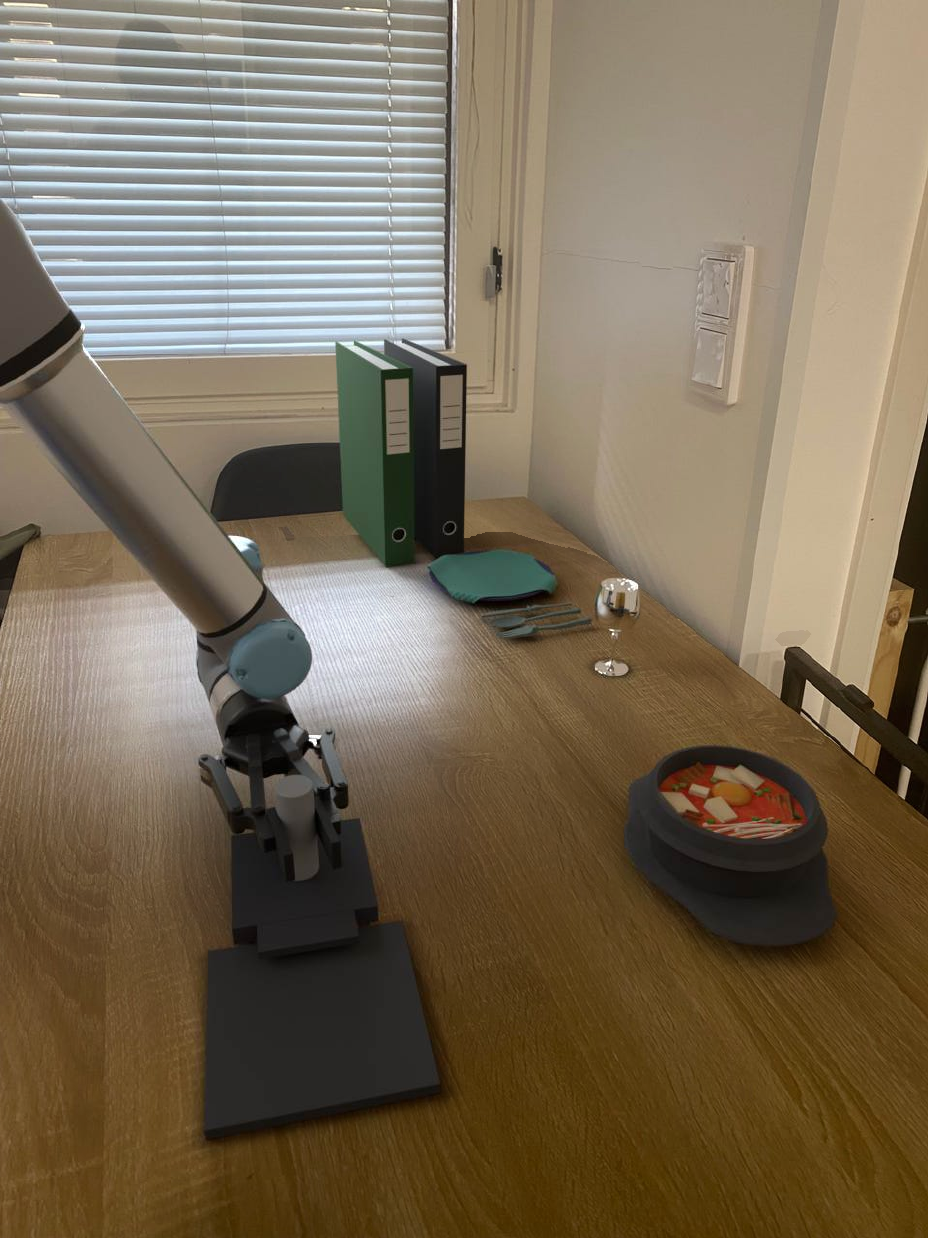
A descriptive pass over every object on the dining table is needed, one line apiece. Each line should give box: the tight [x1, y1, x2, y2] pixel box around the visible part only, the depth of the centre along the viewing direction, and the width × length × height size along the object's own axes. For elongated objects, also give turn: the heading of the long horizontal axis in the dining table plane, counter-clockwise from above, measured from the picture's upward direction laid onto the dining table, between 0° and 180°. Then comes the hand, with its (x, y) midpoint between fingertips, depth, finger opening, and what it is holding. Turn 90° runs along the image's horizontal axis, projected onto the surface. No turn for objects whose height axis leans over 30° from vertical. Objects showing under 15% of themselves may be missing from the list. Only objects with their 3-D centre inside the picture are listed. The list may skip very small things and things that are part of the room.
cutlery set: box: [427, 548, 593, 640], centre depth 140 cm, size 20×30×2 cm, turn 19°
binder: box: [335, 338, 468, 568], centre depth 157 cm, size 27×15×32 cm, turn 23°
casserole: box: [623, 744, 838, 947], centre depth 84 cm, size 25×19×8 cm
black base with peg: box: [230, 775, 379, 959], centre depth 78 cm, size 12×15×11 cm
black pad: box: [203, 919, 441, 1141], centre depth 69 cm, size 16×16×1 cm
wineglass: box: [594, 577, 641, 677], centre depth 118 cm, size 6×6×12 cm
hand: (313, 861), depth 74 cm, fingers closed on black base with peg, 3 cm apart
